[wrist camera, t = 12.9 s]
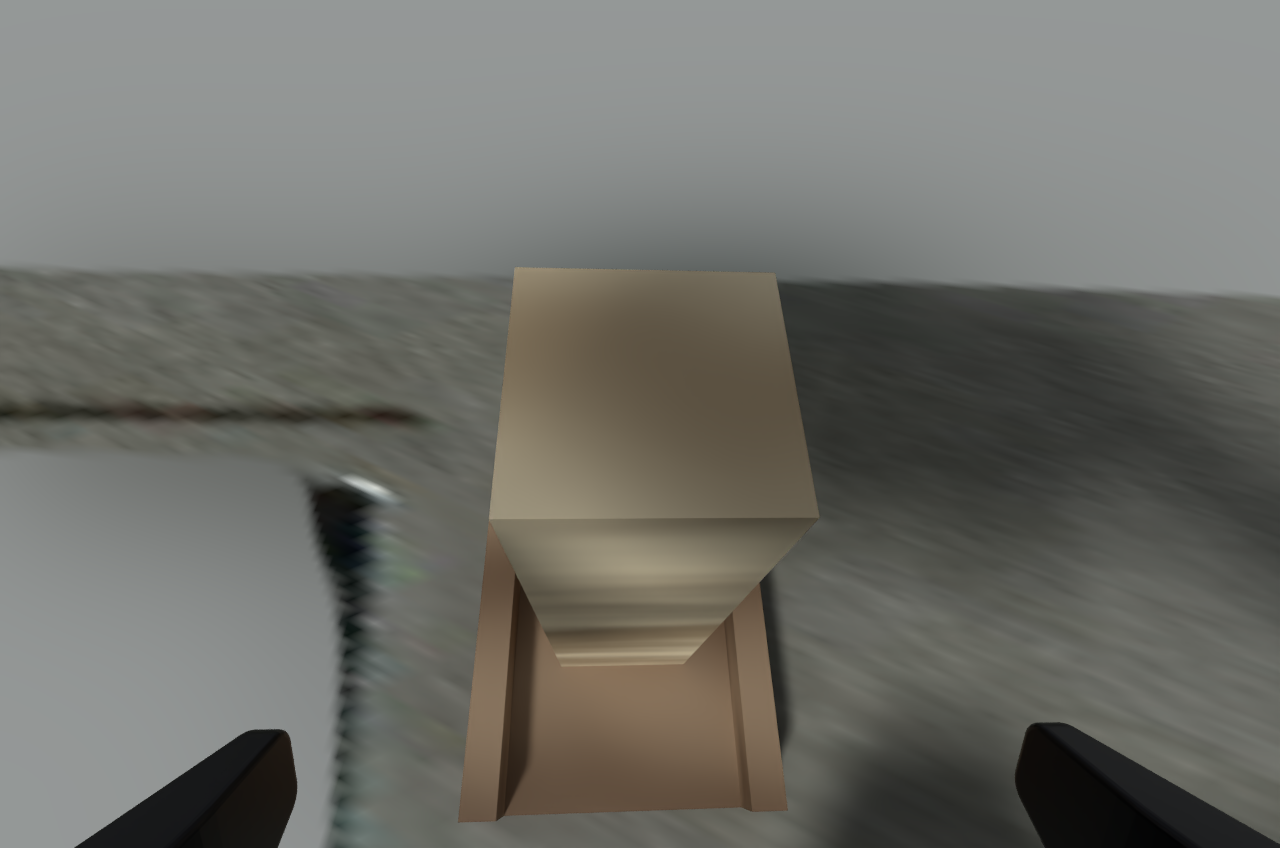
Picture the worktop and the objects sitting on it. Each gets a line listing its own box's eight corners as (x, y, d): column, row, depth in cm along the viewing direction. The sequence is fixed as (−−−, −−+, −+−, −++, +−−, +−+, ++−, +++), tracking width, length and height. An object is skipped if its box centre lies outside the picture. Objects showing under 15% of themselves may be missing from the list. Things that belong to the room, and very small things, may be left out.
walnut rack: (765, 803, 19) (787, 810, 16) (475, 813, 18) (458, 822, 16) (728, 458, 24) (741, 430, 22) (508, 458, 24) (498, 429, 22)
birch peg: (683, 664, 19) (819, 517, 7) (561, 666, 19) (488, 518, 7) (676, 545, 21) (775, 272, 9) (565, 546, 21) (515, 267, 9)
